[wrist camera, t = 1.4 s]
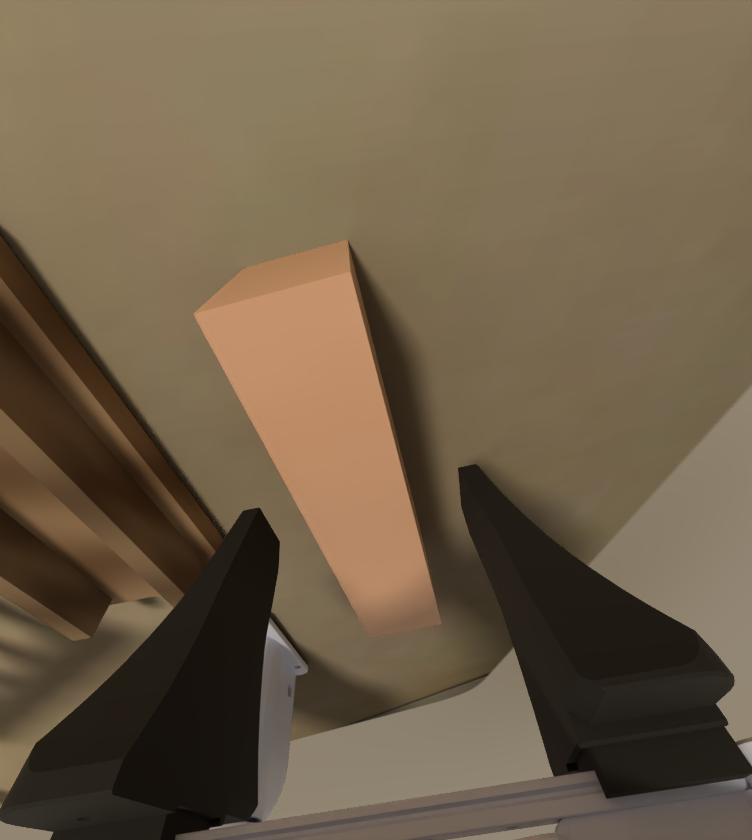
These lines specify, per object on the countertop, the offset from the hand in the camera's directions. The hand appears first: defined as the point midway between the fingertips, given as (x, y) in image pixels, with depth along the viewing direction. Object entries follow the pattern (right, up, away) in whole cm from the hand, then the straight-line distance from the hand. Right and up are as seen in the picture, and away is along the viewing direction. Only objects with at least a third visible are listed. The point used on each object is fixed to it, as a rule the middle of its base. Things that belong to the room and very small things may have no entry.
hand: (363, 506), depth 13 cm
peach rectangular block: (0, +2, +3) cm, 4 cm away
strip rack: (-13, +1, +3) cm, 14 cm away
